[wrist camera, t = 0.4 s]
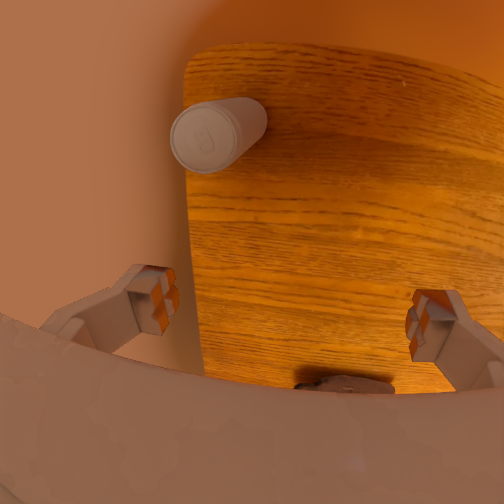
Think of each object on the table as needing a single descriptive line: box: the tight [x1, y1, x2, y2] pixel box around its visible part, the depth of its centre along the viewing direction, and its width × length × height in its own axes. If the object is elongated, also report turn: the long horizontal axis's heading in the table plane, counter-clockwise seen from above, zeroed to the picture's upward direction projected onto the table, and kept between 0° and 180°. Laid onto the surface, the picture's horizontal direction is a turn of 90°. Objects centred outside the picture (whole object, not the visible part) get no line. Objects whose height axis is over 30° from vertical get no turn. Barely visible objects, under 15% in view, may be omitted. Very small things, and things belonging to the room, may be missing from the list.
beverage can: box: [170, 97, 268, 174], centre depth 23 cm, size 5×5×12 cm
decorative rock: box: [294, 374, 395, 394], centre depth 37 cm, size 16×7×15 cm, turn 82°
